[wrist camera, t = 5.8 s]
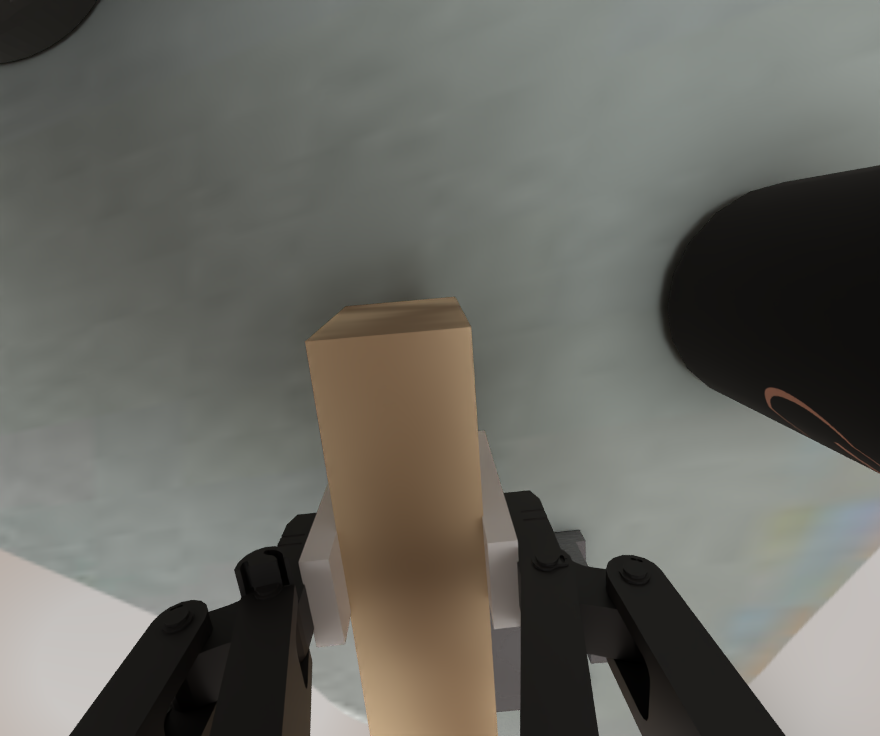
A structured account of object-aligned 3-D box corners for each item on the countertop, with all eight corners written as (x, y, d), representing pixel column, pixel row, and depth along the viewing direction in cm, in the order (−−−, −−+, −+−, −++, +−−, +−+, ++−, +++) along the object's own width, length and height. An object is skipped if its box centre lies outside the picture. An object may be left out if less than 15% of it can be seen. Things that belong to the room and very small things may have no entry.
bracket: (446, 701, 31) (452, 832, 24) (428, 545, 27) (428, 643, 21) (582, 688, 31) (626, 815, 24) (579, 530, 27) (629, 624, 21)
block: (388, 618, 21) (375, 765, 15) (345, 306, 17) (304, 341, 11) (478, 609, 21) (498, 753, 15) (455, 296, 17) (471, 327, 11)
